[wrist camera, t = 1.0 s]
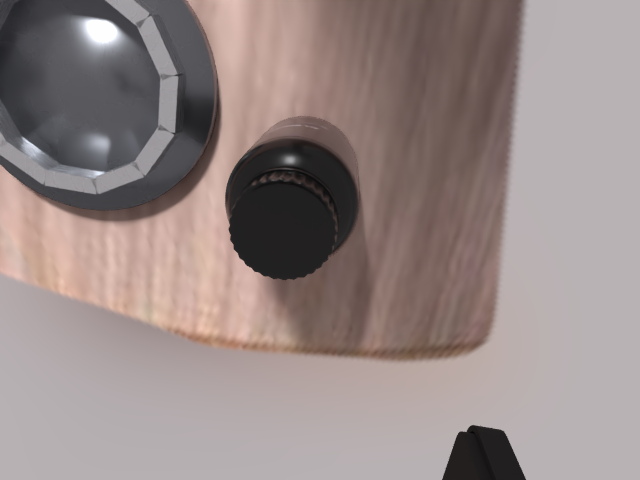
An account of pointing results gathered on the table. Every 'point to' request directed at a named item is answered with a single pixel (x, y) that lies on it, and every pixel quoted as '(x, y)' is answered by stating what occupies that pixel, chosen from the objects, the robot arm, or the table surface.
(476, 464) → the robot arm
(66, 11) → the rosette plate
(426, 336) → the table surface
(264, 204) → the supplement bottle
